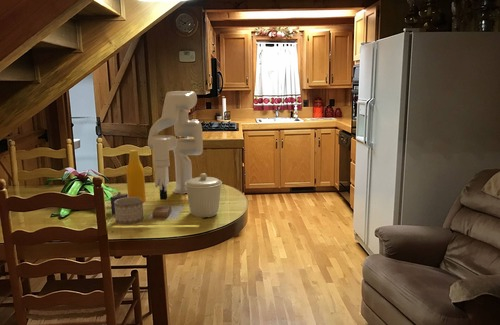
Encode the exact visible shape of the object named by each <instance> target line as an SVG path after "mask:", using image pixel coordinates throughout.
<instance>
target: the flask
mask: <svg viewBox="0 0 500 325" xmlns="http://www.w3.org/2000/svg"><path fill="white" fill-rule="evenodd" d="M125 197H128V193H123V194H122V192H121V191H118V193H117V194H115V195H114V194H113V195H111V196H110V197H109V198H110V206H111V215H115V205H114V201H116V200H117V199H120V198H125Z"/></svg>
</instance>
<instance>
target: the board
mask: <svg viewBox="0 0 500 325" xmlns="http://www.w3.org/2000/svg"><path fill="white" fill-rule="evenodd" d="M170 206H171V213H170V215H169V216H168V218H153V215H152V212H151V213H150V215H148V217H147V219H148V220H162V219H164V220H167V219H168V220H169V219H172V220H175V219H176V220H177V219H178V217H179V215H180V214H181V212H182V210H183V209H184V205H170Z"/></svg>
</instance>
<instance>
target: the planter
mask: <svg viewBox="0 0 500 325" xmlns="http://www.w3.org/2000/svg"><path fill="white" fill-rule="evenodd" d="M143 203H144V202H143V201H142V198H139V197H125V198H120V199H117V200H116V201H114V205H115V223H117V224H120V225H132V224H137V223H140V222H142V221H143V220H144V216H145V215H144V204H143Z"/></svg>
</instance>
